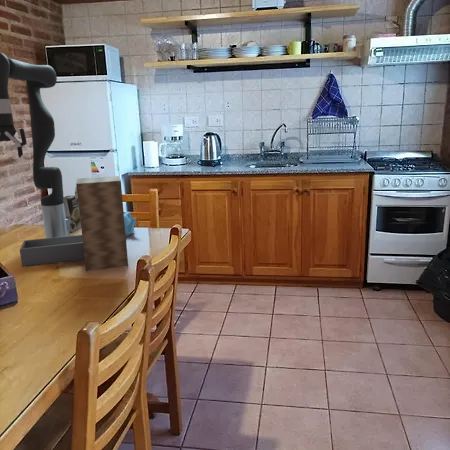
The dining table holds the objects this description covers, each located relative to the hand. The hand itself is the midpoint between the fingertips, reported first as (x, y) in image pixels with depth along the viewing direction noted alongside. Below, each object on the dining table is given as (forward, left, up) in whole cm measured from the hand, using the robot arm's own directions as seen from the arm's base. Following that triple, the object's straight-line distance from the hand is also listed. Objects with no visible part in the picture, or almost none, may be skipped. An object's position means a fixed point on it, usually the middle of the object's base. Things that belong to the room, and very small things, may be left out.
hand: (7, 157), depth 161 cm
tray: (-10, +13, -40) cm, 43 cm away
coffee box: (-42, -18, -40) cm, 61 cm away
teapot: (-44, +10, -40) cm, 61 cm away
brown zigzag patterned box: (-12, +33, -40) cm, 53 cm away
